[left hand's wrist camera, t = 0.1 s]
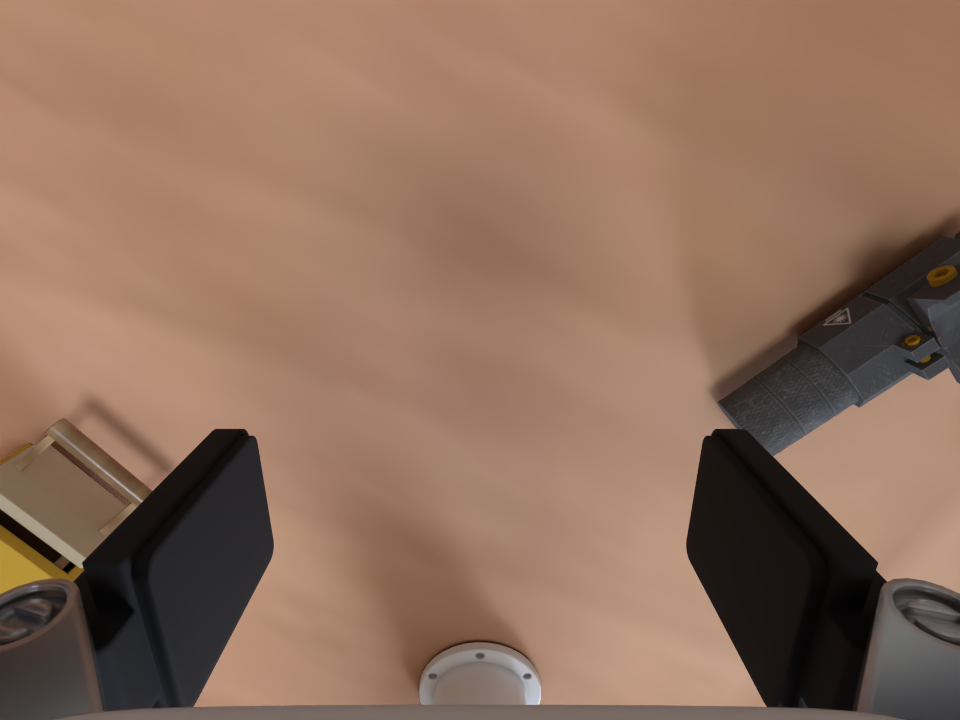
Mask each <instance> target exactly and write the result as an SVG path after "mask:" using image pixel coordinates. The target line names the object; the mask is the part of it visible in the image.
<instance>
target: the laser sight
mask: <svg viewBox="0 0 960 720" xmlns="http://www.w3.org/2000/svg"><path fill="white" fill-rule="evenodd" d="M947 368H949V369H950V371H951V373H952V374H953V376H954V378H955V379H956V381H957V382H958V383H960V232H958V233H957V234H956V236H955V237H954V238H953V239H952V238H946V237H941V238H940V239H938V240H937V241H935V242H934V243H933V244H931V245H930V246H928V247H927V248H925V249H924V250H923V251H921V252H920V253H918V254H917V255H915V256H914V257H913V258H911V259H910V260H908V261H907V262H905V263H904V264H903V265H901V266H900V267H898V268H897V269H895V270H894V271H893V272H891V273H890V274H888V275H887V276H885V277H884V278H883V279H881V280H880V281H878V282H877V283H875V284H874V285H873V286H871V287H870V288H868V289H867V290H865V291H864V292H863V293H861V294H860V295H858V296H857V297H855V298H854V299H853V300H851V301H850V302H848V303H847V304H845V305H844V306H843V307H841V308H840V309H838V310H837V311H835V312H834V313H833V314H831V315H830V316H828V317H827V318H825V319H824V320H823V321H821V322H820V323H818V324H817V325H815V326H814V327H813V328H811V329H810V330H808V331H807V332H805V333H804V334H803V335H801V336H800V337H799V339H798V346H797V348H795V349H794V350H792V351H791V352H789V353H788V354H786V355H785V356H783V357H782V358H781V359H780V360H777V361H776V362H775V363H773V364H772V365H771V366H769V367H768V368H766V369H765V370H764V371H762V372H761V373H759V374H758V375H756V376H754V378H753V379H750V380H749V381H748V382H746V383H745V384H743V385H742V386H741V387H739V388H738V389H736V390H735V391H733V392H732V393H731V394H729V395H728V396H726V397H725V398H723V399H722V400H720V401H718V402H717V403H718V405H719V407H720V408H721V409H722V411H723V412H724V413H725V415H726V416H727V417H728V418H729V420H730V421H731V422H732V423H733V425H734V426H735V427H736V428H737V429H745V430H747V431H748V432H749V433H750V434H751V435H752V436H753V437H754V438H755V439H756V440H757V441H758V442H759V443H760V444H761V445H762V446H763V447H764V448H765V449H766V450H767V451H768V452H769V453H770V454H771V455H772V456H774V455H776V454H777V453H779V452H781V451H782V450H784V449H785V448H786V447H788V446H790V445H791V444H793V443H794V442H796V441H798V440H799V439H801V438H803V436H804V435H807V434H808V433H810V432H811V431H813V430H814V429H816V428H817V427H819V426H820V425H822V424H823V423H825V422H827V421H828V420H830V419H832V418H833V416H836V415H838V414H839V413H841V412H842V411H843V410H845V409H846V408H848V407H850V406H851V405H853V404H855V405H856V406H858V407H859V408H860V407H861V406H863V405H864V404H866V403H867V402H869V401H870V400H872V399H874V398H875V397H877V396H878V395H880V394H881V393H883V392H884V391H886V390H887V389H889V388H891V387H892V386H894V385H895V384H897V383H898V382H900V381H901V380H903V379H904V378H906V377H908V376H909V375H911V374H912V373H914V374H916V375H918V376H921V377H923V378H925V379H927V380H930V379H931V378H933V377H934V376H936V375H937V374H939V373H941V372H942V371H944V370H945V369H947Z"/></svg>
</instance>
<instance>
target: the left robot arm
mask: <svg viewBox="0 0 960 720" xmlns="http://www.w3.org/2000/svg"><path fill="white" fill-rule="evenodd" d="M273 548H274V542H273V535H272V529H271V523H270V517H269V511H268V504H267V498H266V492H265V486H264V480H263V474H262V468H261V462H260V456H259V449H258V443H257V440H256V438H255V437H254V436H249V434H248V433H247V431H246V430H245V429H215V430H213V431H212V432H211V433H210V434H209V435H208V436H207V437H206V438H205V439H204V440H203V441H202V442H201V443H200V444H199V445H198V446H197V447H196V448H195V449H194V450H193V451H192V452H191V453H190V454H189V455H188V456H187V457H186V458H185V459H184V460H183V461H182V462H181V463H180V464H179V465H178V466H177V467H176V468H175V469H174V470H173V471H172V472H171V473H170V474H169V475H168V476H167V477H166V478H165V479H164V480H163V481H162V482H161V483H160V484H159V485H158V486H157V487H156V488H155V489H154V490H153V492H152V493H151V494H150V495H149V496H148V497H147V498H146V499H145V500H144V501H143V502H142V503H141V504H140V505H139V506H138V507H137V508H136V509H135V510H134V511H133V512H132V513H131V514H130V515H129V516H128V517H127V518H126V519H125V520H124V521H123V522H122V523H121V524H120V525H119V526H118V527H117V528H116V529H115V530H114V531H113V532H112V533H111V534H110V535H109V536H108V537H107V538H106V539H105V540H104V541H103V542H102V543H101V544H100V545H99V546H98V547H97V548H96V549H95V550H94V551H93V552H92V553H91V554H90V555H89V556H88V557H87V558H86V559H85V560H84V561H83V562H82V565H83V568H84V571H83V572H82V573H81V574H80V575H79V576H78V577H77V578H76V579H75V580H74V581H73V582H71V581H69V580H67V579H56V578H51V579H44V580H37V581H33V582H30V583H27V584H23V585H20V586H17V587H15V588H13V589H10V590H8V591H6V592H4V593H1V594H0V720H960V594H959V593H956V592H954V591H952V590H950V589H947V588H945V587H943V586H940V585H937V584H933V583H930V582H927V581H923V580H916V579H909V578H904V579H893V580H891V581H889V582H887V581H886V580H885V579H884V578H883V577H882V576H881V575H880V574H879V573H878V572H877V571H876V568H877V565H878V562H877V561H876V560H875V559H874V558H873V557H872V556H871V555H870V554H869V553H868V552H867V551H866V550H865V549H864V548H863V547H862V546H861V545H860V544H859V543H858V542H857V541H856V540H855V539H854V538H853V537H852V536H851V535H850V534H849V533H848V532H847V531H846V530H845V529H844V528H843V527H842V526H841V525H840V524H839V523H838V522H837V521H836V520H835V519H834V518H833V517H832V516H831V515H830V514H829V513H828V512H827V511H826V510H825V509H824V508H823V507H822V506H821V505H820V504H819V503H818V502H817V501H816V500H815V499H814V498H813V497H812V496H811V495H810V494H809V493H808V492H807V490H806V489H805V488H804V487H803V486H802V485H801V484H800V483H799V482H798V481H797V480H796V479H795V478H794V477H793V476H792V475H791V474H790V473H789V472H788V471H787V470H786V469H785V468H784V467H783V466H782V465H781V464H780V463H779V462H778V461H777V460H776V459H775V458H774V457H773V456H772V455H771V454H770V453H769V452H768V451H767V450H766V449H765V448H764V447H763V446H762V445H761V444H760V443H759V442H758V441H757V440H756V439H755V438H754V437H753V436H752V435H751V434H750V433H749V432H748V431H747V430H745V429H715V430H714V431H713V433H712V434H711V436H706V437H705V438H704V440H703V443H702V449H701V456H700V462H699V468H698V474H697V480H696V486H695V492H694V498H693V504H692V511H691V517H690V523H689V529H688V535H687V542H686V548H687V554H688V558H689V560H690V562H691V564H692V566H693V568H694V570H695V572H696V574H697V576H698V578H699V579H700V581H701V583H702V585H703V587H704V589H705V591H706V593H707V595H708V597H709V598H710V600H711V602H712V604H713V606H714V608H715V610H716V612H717V614H718V616H719V618H720V619H721V621H722V623H723V625H724V627H725V629H726V631H727V633H728V635H729V637H730V638H731V640H732V642H733V644H734V646H735V648H736V650H737V652H738V654H739V656H740V657H741V659H742V661H743V663H744V665H745V667H746V669H747V671H748V673H749V675H750V677H751V678H752V680H753V682H754V684H755V686H756V688H757V690H758V692H759V694H760V696H761V697H762V699H763V701H764V703H765V705H766V706H767V707H741V706H663V705H539V704H540V699H541V686H540V680H539V675H538V673H537V671H536V669H535V667H534V666H533V665H532V664H531V662H530V661H529V660H528V659H527V658H525V657H524V656H523V655H522V654H520V653H519V652H517V651H515V650H513V649H511V648H508V647H505V646H502V645H499V644H494V643H486V642H474V643H465V644H461V645H458V646H454V647H452V648H449V649H447V650H445V651H443V652H441V653H440V654H438V655H437V656H435V657H434V658H433V659H432V660H431V661H430V662H429V663H428V664H427V666H426V668H425V669H424V671H423V673H422V676H421V679H420V686H419V700H420V703H421V705H297V706H219V707H193V706H194V705H195V703H196V701H197V699H198V697H199V696H200V694H201V692H202V690H203V688H204V686H205V684H206V682H207V680H208V678H209V677H210V675H211V673H212V671H213V669H214V667H215V665H216V663H217V661H218V659H219V657H220V656H221V654H222V652H223V650H224V648H225V646H226V644H227V642H228V640H229V638H230V637H231V635H232V633H233V631H234V629H235V627H236V625H237V623H238V621H239V619H240V618H241V616H242V614H243V612H244V610H245V608H246V606H247V604H248V602H249V600H250V598H251V597H252V595H253V593H254V591H255V589H256V587H257V585H258V583H259V581H260V579H261V578H262V576H263V574H264V572H265V570H266V568H267V566H268V564H269V562H270V560H271V558H272V554H273Z"/></svg>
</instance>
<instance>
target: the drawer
mask: <svg viewBox="0 0 960 720" xmlns="http://www.w3.org/2000/svg"><path fill="white" fill-rule="evenodd" d="M45 433H46V434H47V436H46V437H45V438H44V439H41V440H40V441H38V442H37V443H35V444H33V445H32V446H30V447H29V448H27V449H26V450H24V451H22V452H21V453H19V454H18V455H16V456H15V457H13V458H11V459H10V460H8V461H7V462H5V463H3V464H2V465H0V525H1V526H3V527H4V528H5V529H7V530H8V531H10V532H11V533H12V534H14V535H15V536H16V537H18V538H19V539H20V540H22V541H23V542H25V543H26V544H27V545H29V546H30V547H31V548H33V549H34V550H35V551H37V552H38V553H39V554H41V555H42V556H44V557H45V558H46V559H48V560H49V561H50V562H52V563H53V564H54V565H56V566H57V567H59V568H60V569H61V570H62V569H63V568H64V567H65V566H66V565H67V564H68V563H69V562H70V561H71V562H72V563H74V564H75V565H76V566H78V567H79V568H82V567H83V565H82V562H83V561H84V560H85V559H86V558H87V557H88V556H89V555H90V554H91V553H92V552H93V551H94V550H95V549H96V548H97V547H98V546H99V545H100V544H101V543H102V542H103V541H104V540H105V539H106V538H107V537H108V536H109V535H110V534H111V533H112V532H113V531H114V530H115V529H116V528H117V527H118V526H119V525H120V524H121V523H122V522H123V521H124V520H125V519H126V518H127V517H128V516H129V515H130V514H131V513H132V512H133V511H134V510H135V509H136V508H137V507H138V506H139V505H140V504H141V503H142V502H143V501H144V500H145V499H146V498H147V497H148V496H149V495H150V494H151V493H152V492H153V491H152V490H151V489H150V488H148V487H147V486H146V485H145V484H143V483H142V482H141V481H140V480H139V479H137V478H136V477H135V476H134V475H133V474H131V473H130V472H129V471H128V470H127V469H125V468H124V467H123V466H122V465H121V464H119V463H118V462H117V461H116V460H114V459H113V458H112V457H111V456H110V455H108V454H107V453H106V452H105V451H104V450H102V449H101V448H100V447H99V446H98V445H96V444H95V443H94V442H93V441H92V440H90V439H89V438H88V437H87V436H85V435H84V434H83V433H82V432H81V431H79V430H78V429H77V428H76V427H75V426H73V425H72V424H71V423H70V422H69V421H67V420H66V419H65V418H63V419H61V420H59V421H58V422H56V423H55V424H53V425H52V426H51V427H50V428H49V429H47V430H46V432H45ZM54 441H56V442H57V443H58V444H60V445H61V446H62V447H63V448H65V449H66V450H67V451H68V452H70V453H71V454H72V455H73V456H74V457H76V458H77V459H78V460H79V461H81V462H82V463H83V464H84V465H86V466H87V467H88V468H89V469H91V470H92V471H93V472H94V473H95V474H97V475H98V476H99V477H100V478H102V479H103V480H104V481H105V482H107V483H108V484H109V485H110V486H112V487H113V488H114V489H115V490H116V491H118V492H119V493H120V494H121V495H123V496H124V497H125V498H126V499H128V500H129V501H130V502H131V503H130V504H129V505H128V506H126V505H124V504H123V503H122V502H121V501H119V500H118V499H117V498H116V497H114V496H113V495H112V494H111V493H109V492H108V491H107V490H106V489H104V488H103V487H102V486H101V485H99V484H98V483H97V482H96V481H95V480H93V479H92V478H91V477H90V476H88V475H87V474H86V473H85V472H83V471H82V470H81V469H80V468H78V467H77V466H76V465H75V464H73V463H72V462H71V461H70V460H68V459H67V458H66V457H65V456H63V455H62V454H61V453H60V452H58V451H57V450H56V449H55V448H53V447H52V446H51V444H52V443H53V442H54Z"/></svg>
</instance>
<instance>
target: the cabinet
mask: <svg viewBox="0 0 960 720" xmlns="http://www.w3.org/2000/svg"><path fill="white" fill-rule="evenodd" d="M30 446H32V445H31V444H28V445H26V446H24V447H23V448H21V449H20V450H18V451H17V452H15V453H13V454H12V455H10V456H9V457H7V458H5V459H4V460H2V461H1V462H0V465H2V464H3V463H5V462H7V461H8V460H10V459H11V458H13V457H15V456H16V455H18V454H19V453H21V452H22V451H24V450H26V449H27V448H29V447H30ZM83 571H84V568H83V567H82V568H79V567H78V566H76V565H75V564H74V563H72V562H71V561H70V562H69V563H68V564H67V565H66V566H65V567H64V568H63V569H62V570H61V569H60V568H59V567H57V566H56V565H54V564H53V563H52V562H50V561H49V560H48V559H46V558H45V557H44V556H42V555H41V554H39V553H38V552H37V551H35V550H34V549H33V548H31V547H30V546H29V545H27V544H26V543H25V542H23V541H22V540H20V539H19V538H18V537H16V536H15V535H14V534H12V533H11V532H10V531H8V530H7V529H5V528H4V527H3V526H1V525H0V594H1V593H4V592H6V591H8V590H10V589H13V588H15V587H17V586H20V585H23V584H27V583H30V582H33V581H37V580H44V579H51V578H56V579H67V580H69V581H71V582H73V581H74V580H75V579H76V578H77V577H78V576H79V575H80V574H81V573H82V572H83Z"/></svg>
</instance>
